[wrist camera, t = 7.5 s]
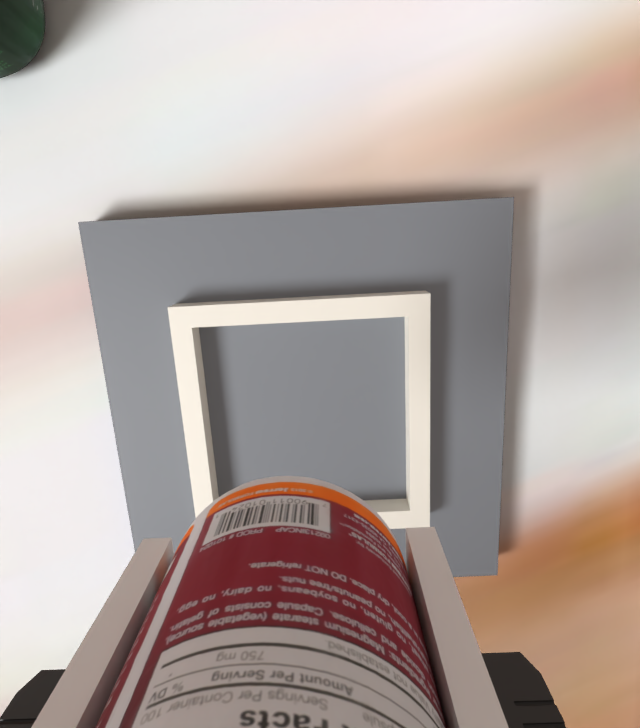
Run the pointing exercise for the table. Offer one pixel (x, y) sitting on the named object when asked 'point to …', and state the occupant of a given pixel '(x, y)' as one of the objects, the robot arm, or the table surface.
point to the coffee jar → (20, 33)
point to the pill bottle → (281, 621)
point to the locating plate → (311, 361)
